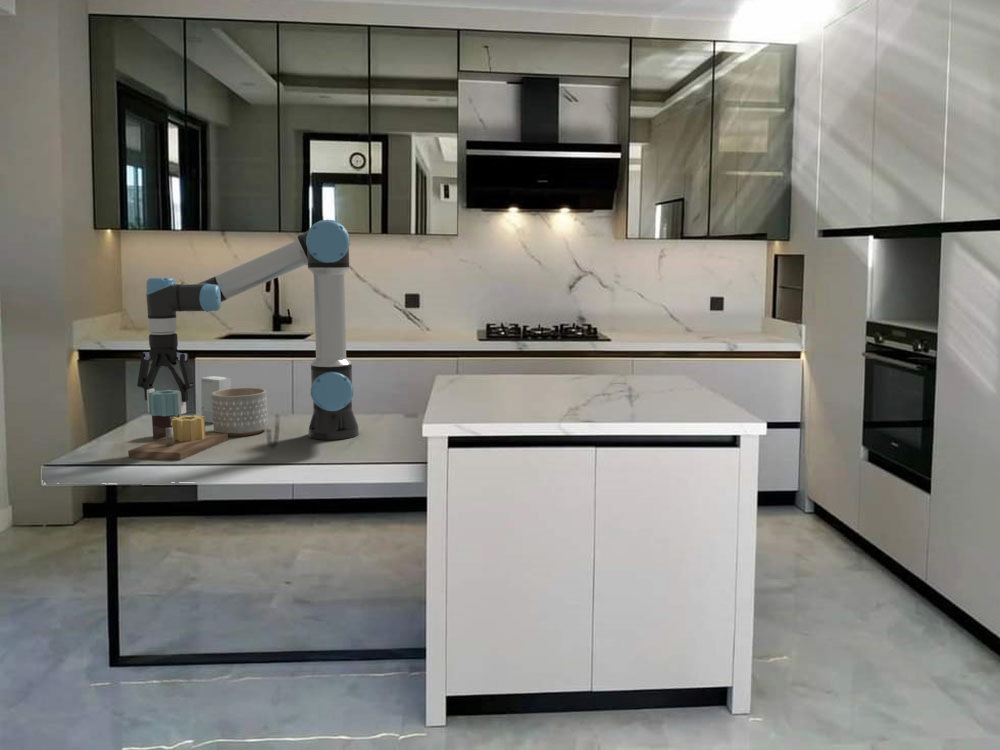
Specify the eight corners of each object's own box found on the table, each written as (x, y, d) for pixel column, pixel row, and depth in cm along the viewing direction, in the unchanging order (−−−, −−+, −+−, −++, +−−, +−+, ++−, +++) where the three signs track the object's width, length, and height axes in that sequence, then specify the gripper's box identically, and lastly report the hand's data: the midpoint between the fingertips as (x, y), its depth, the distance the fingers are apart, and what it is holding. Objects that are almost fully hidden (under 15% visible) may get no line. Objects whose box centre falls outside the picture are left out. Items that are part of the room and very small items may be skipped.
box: (170, 439, 282) (169, 415, 281) (152, 438, 283) (151, 415, 282) (181, 435, 288) (179, 412, 287) (163, 434, 289) (162, 411, 288)
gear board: (227, 440, 280) (226, 417, 279) (180, 460, 255) (179, 435, 254) (180, 438, 283) (178, 415, 282) (128, 457, 258) (126, 433, 257)
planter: (211, 429, 296) (208, 390, 294) (263, 424, 302) (261, 386, 301) (217, 439, 281) (214, 397, 279) (272, 434, 287) (270, 393, 286)
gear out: (207, 434, 279) (205, 414, 278) (202, 440, 270) (201, 420, 269) (175, 435, 277) (174, 415, 276) (170, 442, 268) (169, 421, 267)
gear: (189, 411, 266) (189, 390, 265) (172, 416, 257) (171, 395, 256) (161, 409, 268) (160, 389, 267) (143, 415, 259) (142, 394, 258)
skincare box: (201, 422, 308) (198, 377, 306) (214, 418, 313) (212, 375, 311) (220, 424, 304) (217, 379, 302) (233, 420, 309) (231, 376, 307)
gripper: (205, 332, 260) (208, 411, 264) (136, 330, 265) (140, 408, 268) (190, 335, 253) (194, 416, 256) (120, 333, 258) (124, 413, 261)
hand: (167, 412), depth 262 cm, fingers closed on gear, 9 cm apart
